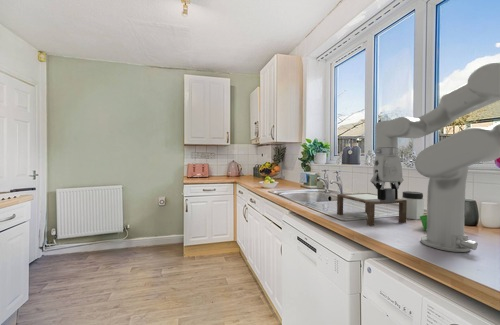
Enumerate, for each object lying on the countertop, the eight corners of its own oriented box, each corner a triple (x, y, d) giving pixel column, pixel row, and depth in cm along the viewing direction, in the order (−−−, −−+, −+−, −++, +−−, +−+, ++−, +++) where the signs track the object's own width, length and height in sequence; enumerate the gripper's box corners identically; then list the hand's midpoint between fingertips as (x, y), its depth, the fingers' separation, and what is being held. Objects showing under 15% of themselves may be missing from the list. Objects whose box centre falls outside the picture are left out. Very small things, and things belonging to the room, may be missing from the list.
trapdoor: (396, 202, 109) (397, 199, 109) (370, 204, 105) (371, 200, 105) (368, 196, 126) (368, 193, 126) (344, 197, 122) (344, 194, 122)
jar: (426, 220, 112) (427, 194, 112) (406, 219, 114) (407, 193, 113) (417, 215, 121) (417, 191, 121) (399, 215, 122) (399, 191, 122)
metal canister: (398, 202, 94) (398, 189, 94) (387, 202, 93) (387, 189, 93) (387, 200, 99) (387, 187, 99) (377, 201, 98) (376, 188, 98)
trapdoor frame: (406, 222, 107) (406, 200, 107) (370, 226, 102) (370, 202, 102) (368, 212, 129) (368, 193, 129) (337, 214, 124) (337, 194, 123)
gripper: (376, 152, 90) (377, 201, 90) (412, 152, 95) (413, 199, 95) (361, 153, 97) (362, 199, 97) (395, 153, 102) (396, 197, 102)
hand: (387, 198), depth 96 cm, fingers closed on metal canister, 5 cm apart
